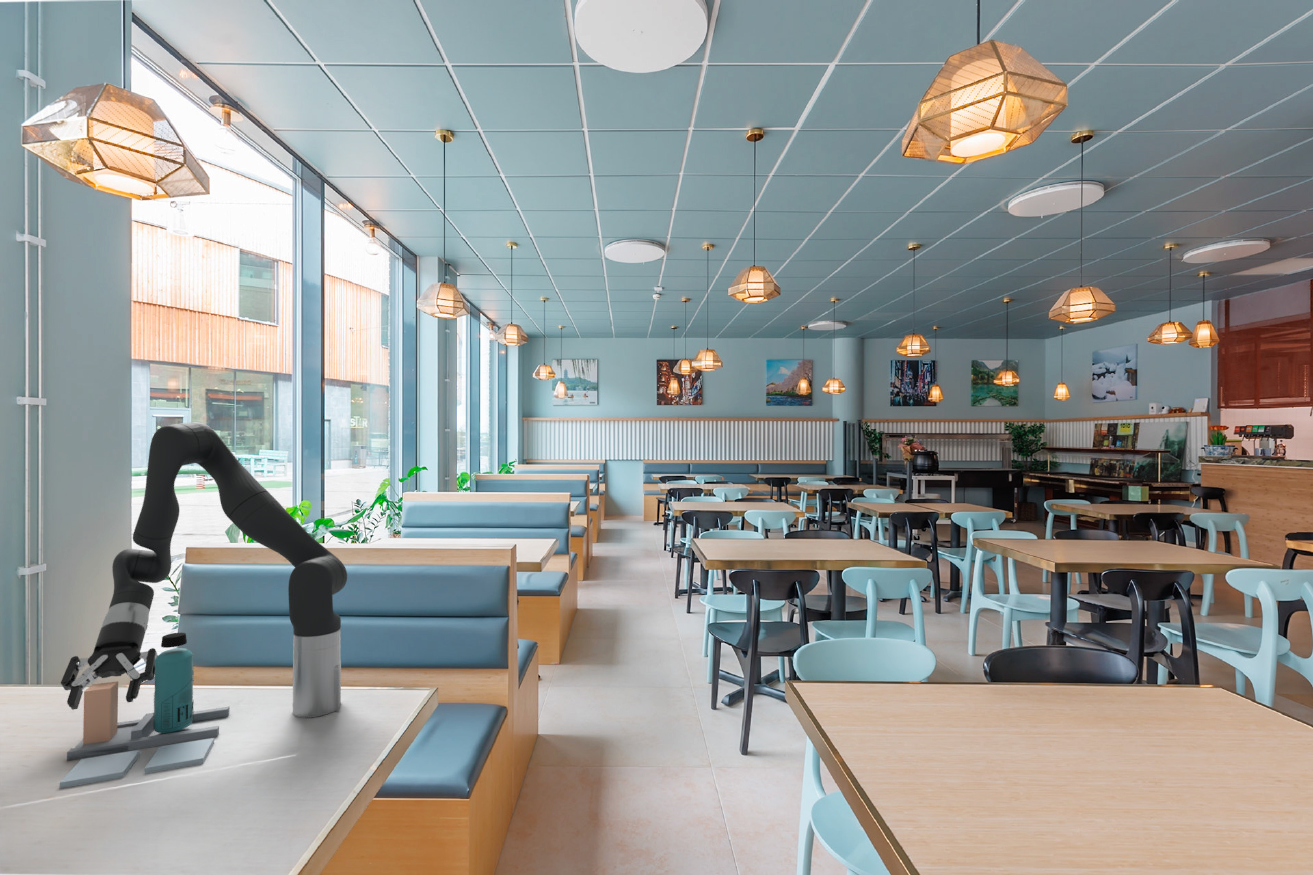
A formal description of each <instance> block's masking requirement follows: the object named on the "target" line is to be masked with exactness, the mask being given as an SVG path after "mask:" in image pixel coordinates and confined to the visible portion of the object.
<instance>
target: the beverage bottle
mask: <svg viewBox="0 0 1313 875" xmlns="http://www.w3.org/2000/svg"><path fill="white" fill-rule="evenodd" d="M187 641H188V639H187V633H186V632H172V633H168V634H165V635H163V636H162V637H161V644H160V647H161V648H163V649H164V648H166V649H167V650H164V651H162V652H161V653H160V654H159V655H158V656H157V657H156V659H155V661H154V662H155V676H154V692H153V700H152V701H153V705H152V706H153V713H154V715H153V716H154V717H153V718H154V725H153V726H154V732H156V733H158V734H168V733H175V732H179V731H181V730H184V729H186V728H188V727H190V726H191V725H192V723H193V722H192V720H193V716H194V715H193V714H194V713H193V712H194V704H195V703H194V698H193V697H194V694H193V693H194V689H193V688H194V680H195V678H194V666H193V664H194V663H193V662H194V660H193V659H194V658H193V657H194V653H193V652H192V651H191V650H190V649H188V648H183V647H182V648H181V646H183V645H186V644H187V643H188V642H187ZM175 647H180V648H175ZM169 648H173V649H169Z"/></svg>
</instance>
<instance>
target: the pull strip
mask: <svg viewBox="0 0 1313 875" xmlns="http://www.w3.org/2000/svg"><path fill="white" fill-rule="evenodd" d="M118 704H119V681H111V682H103V683H92V684H91V685H89V687H88V688H86V689H85V690H84V691H83V731H82V732H83V733H82V734H83V735H82V739H81V740H80V741H79V742H78V743H77V744H76V745H75V747H73V748H71V747H70V749H69V750H68V751H67V752H66V761H72V760H79V759H80V760H81V759H86V758H92V757H98V756H104V755H110V754H117V753H123V752H129V751H135V750H143V749H147V748H152V747H153V748H154V747H160V746H166V745H173V744H179V743H185V742H191V741H197V740H204V739H210V738H216V737H218V736H219V734H220V725H215V726H208V727H201V728H195V729H189V730H182V731H181V730H180V731H174V732H168V733H161V734H157V735H151V733H152V732H153V731H155V729H154V726H153V725H154V718H153V717H154V716H153V715H154V712H151V713H145V714H144V716H143V717H142V718H141V719H133V720H126V721H121V722H120V721H118V720H119V718H118V714H119V713H118V712H119V711H118V710H119V705H118ZM193 713H194V714H193V715H194V716H193V720H192V723H193V722H198V721H204V720H212V719H218V718H225V717H229V716H230V706H223V707H216V708H210V709H202V710H196V711H193Z"/></svg>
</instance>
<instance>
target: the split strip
mask: <svg viewBox="0 0 1313 875" xmlns="http://www.w3.org/2000/svg"><path fill="white" fill-rule="evenodd" d="M214 744H215V737H211V738H204V739H198V740H192V741H186V742H179V743H173V744H167V745H161V746H158V748H157V750H156V751H155V753H154V754H153V756H152V757H151V759H150V760H149V762H148V763H147V764H146V765H145V767H144V774H151V773H155V772H156V773H157V772H162V771H166V770H174V769H179V768H184V767H190V766H196V765H201V764H204V762H205V761H206V759H207V757H208V755H209V754H210V751H211V749H212V747H213V746H214ZM140 756H141V749H136V750H130V751H123V752H117V753H111V754H105V755H98V756H92V757H86V758H80V760H79V761H78V762H77V763H76V765H75V766H74V767H73V768H72V769H71V770H70V771H69V772H68V773H67V774H65V776H64V777H63V778H62V779H61V780H60V782H59V789H64V788H68V787H76V786H81V785H87V784H92V783H98V782H104V781H109V780H115V779H116V780H117V779H120V778H121V779H123V778H124V777H125V776H126V774H127V773H129V771H130V769H131V768H132V767H133V766H134V764H135V762H136V761H137V760H138V758H139V757H140Z"/></svg>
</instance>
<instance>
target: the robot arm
mask: <svg viewBox="0 0 1313 875" xmlns="http://www.w3.org/2000/svg"><path fill="white" fill-rule="evenodd" d="M193 464H197V465H199V466H200V467H202V469H203V470H205V472H207V473H208V475H209V476H210V477H211V478H212V479H213V480H214V482H215V484H216V485H217V489H218V495H219V501H220V504H221V508H222V511H223V513H224V514H225V516H226V517H227V518H228V519H229V520H230V521H231V523H233V525H235V527H236V528H238V530H240V531H241V532H242V533H243V534H244V535H245V536H247V537H248V538H249V539H250V540H253V541H255V542H256V543H259V544H260V545H262V546H264V547H266V548H267V549H269V550H272V551H274V552H276V553H277V554H279V555H281V556H282V557H284V558H285V559H286V560H287V562H289V563H290V564H291V565H292V566H293V567H294V568H293V569H292V572H290V576H289V580H288V591H287V592H288V612H289V613H288V614H289V615H288V616H289V621H290V623H291V625H292V628H293V629H292V630H293V640H292V652H293V653H292V665H293V666H292V715H293V716H294V717H297V718H306V719H307V718H315V717H321V716H324V715H328V714H330V713H334V712H337V711H341V710H340V708H341V701H342V700H341V698H342V697H341V695H342V693H341V691H342V688H341V687H342V686H341V684H342V682H341V681H342V680H341V679H342V678H341V677H342V676H341V675H342V659H341V640H342V639H341V635H342V634H341V630H342V628H341V627H342V626H341V624H342V620H341V616H340V615H339V614H337V613H335V611H334V605H333V604H334V602H333V595H336V594H337V593H339V592H340V591H342V590H343V589H344V587H345V586H346V584H347V581H348V572H347V568H346V567H345V565H344V563H343V562H342V561H341V560H340V559H339V558H338V557H337V556H336V555H335V554H333V553H332V552H331V551H330V550H329V549H327V548H326V547H324V545H322V543H320V542H318V540H316V539H315V538H314V537H313V536H311V534H309V533H308V532H307V530H305V528H303V526H302V525H301V524H300V523H299V522H298V521H297V520H296V519H295V518H294V517H293V516H292V515H291V514H290V513H289V511H287V510H286V508H284V507H283V506H282V504H281V503H280V502H279V501H278V500H277V499H276V498H275V497H274V496H273V495H271V493H270V492H269V491H268V490H267V489H266V488H265V487H264V486H263V485H261V483H260V482H259V481H258V480H257V479H256V478H255V477H254V476H253V475H252V474H251V473H250V472H249V471H248V469H246V467H245V466H244V465H243V464H242V463H241V462H240V461H239V460H238V458H237V457H236V456H235V455H234V454H233V453H232V451H231V450H230V449H229V447H228V446H227V445H226V443H225V442H224V441H223V440H222V438H221V437H220V436H219V435H218V433H217V432H216V431H215V430H214V429H212V427H211V426H209V425H208V424H206V423H203V422H199V421H194V422H181V423H174V424H172V423H171V424H168V425H163V426H161V427H160V428H158V429H156V431H155V432H154V434H153V435H152V438H151V442H150V447H149V452H148V463H147V471H146V478H145V488H144V496H143V502H142V506H141V509H140V513H139V516H138V519H137V522H136V524H135V528H134V531H133V534H132V541H133V543H135V544H136V545H137V546H139V547H142V548H145V549H147V550H143V549H141V550H140V549H137V548H136V549H135V548H127V549H123V550H122V551H120V552H118V554H116V556H115V557H114V559H113V562H112V569H111V570H112V578H113V592H112V593H113V594H112V598H111V601H110V604H109V607H108V610H107V613H106V614H105V616H104V618H103V621H102V624H101V627H100V630H99V634H98V635H97V636H98V637H97V640H96V642H95V646H94V649H93V652H92V654H91V655H90V656H89V657H85V658H84V657H83V658H82V657H81V658H79V656H78V655H75V656H72V657H71V658H70V659H69V662H68V665H67V667H66V668H65V671H64V674H63V676H62V679H61V680H60V685H61V686H62V688H63V690H65V691H69V694H68V697H67V700H66V704H67V706H68V707H69V708H70V709H71V710H77V709H79V706H80V702H81V699H82V696H83V694H84V691H83V690H84V689H86V688H87V687H88V686H90V684H94V683H95V682H96V681H97V680H98V679H99V678H101V679H107V678H109V677H121V676H122V675H124V674H126V675H127V676H128V677H129V679H130V680H129V684H128V687H127V691H126V695H125V700H126V702H127V703H133V702H134V699H135V700H136V699H137V698H138V696H139V692H140V689H141V685H142V684H143V682H146V681H152V680H155V662H154V661H155V659H156V657H157V656H159V655H158V652H157V650H156V649H155V648H154V647H151V648H150V649H148V651H141V650H142V646H143V643H144V639H145V634H146V631H147V629H148V623H149V616H150V611H151V607H152V604H153V601H154V597H155V596H154V595H155V591H154V589H153V587H151V586H150V585H148V584H147V583H149V584H158V583H160V582H162V581H164V580H166V578H167V577H169V575H170V573H171V570H172V554H171V545H172V544H171V543H172V540H173V539H172V538H173V534H174V532H175V530H176V526H177V525H178V524H177V523H178V521H179V516H180V505H179V501H178V498H177V494H176V491H175V490H176V489H175V482H176V479H177V476H178V474H179V472H180V470H181V469H182V467H183V466H186V465H188V466H189V465H193ZM141 659H143V661H144V663H145V666H144V667H145V669H144V672H141V673H139V672H138V670H137V668H136V667H135V665H136V664H138V663H139V662H140V661H141ZM85 666H88V668H86V669H84V668H85ZM83 669H84V670H83ZM82 670H83V671H82ZM80 671H82V673H81V675H80V676H79V677H78V674H79V673H80Z"/></svg>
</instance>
